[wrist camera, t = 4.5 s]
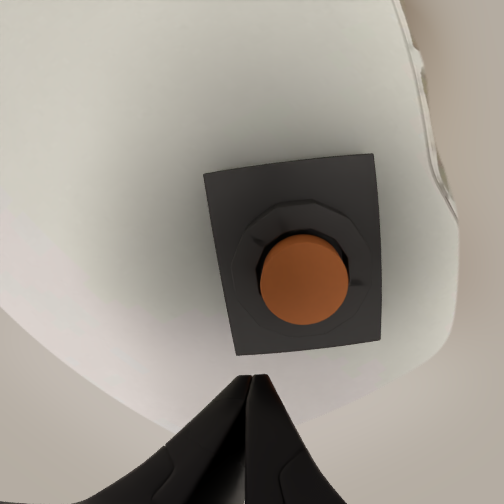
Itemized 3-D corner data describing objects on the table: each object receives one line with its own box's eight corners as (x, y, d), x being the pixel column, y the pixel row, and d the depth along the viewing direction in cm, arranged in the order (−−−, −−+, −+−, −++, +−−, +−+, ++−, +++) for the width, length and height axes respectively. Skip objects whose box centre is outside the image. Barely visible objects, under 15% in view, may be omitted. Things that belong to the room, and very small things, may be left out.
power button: (343, 304, 16) (350, 320, 14) (268, 312, 17) (266, 329, 15) (339, 229, 15) (346, 237, 13) (257, 238, 16) (254, 248, 14)
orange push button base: (372, 323, 20) (388, 356, 16) (240, 338, 21) (231, 373, 17) (363, 154, 17) (383, 152, 13) (211, 172, 18) (193, 175, 15)
